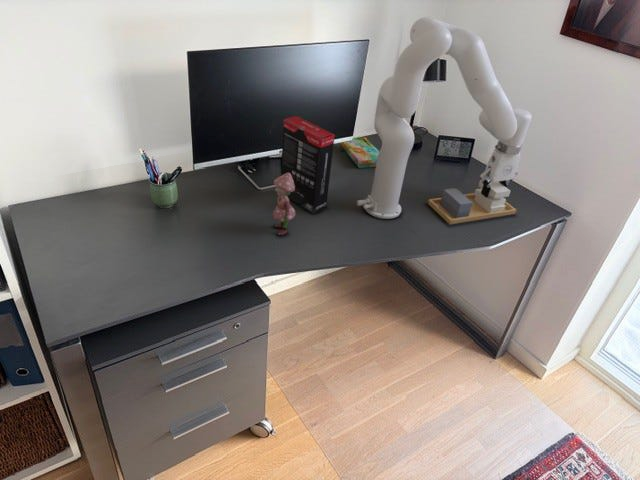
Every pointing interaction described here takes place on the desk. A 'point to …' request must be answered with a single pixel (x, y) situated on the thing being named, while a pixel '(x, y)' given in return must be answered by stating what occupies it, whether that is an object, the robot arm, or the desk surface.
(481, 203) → the white book
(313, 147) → the graphics card box
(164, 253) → the desk surface
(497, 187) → the white rectangular lid
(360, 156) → the puzzle game
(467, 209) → the grey book
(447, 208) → the blue-gray box
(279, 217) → the cartoon character
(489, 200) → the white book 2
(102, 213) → the desk surface
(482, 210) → the desk tray
